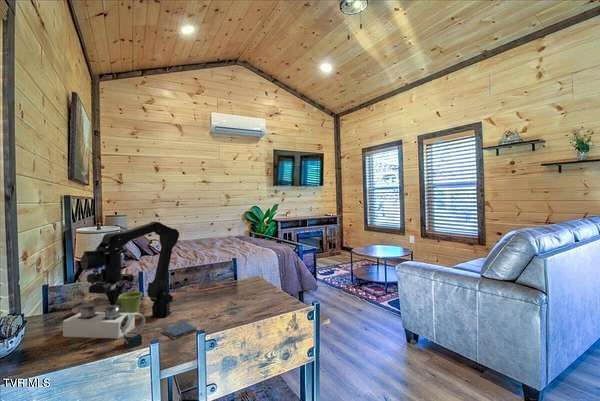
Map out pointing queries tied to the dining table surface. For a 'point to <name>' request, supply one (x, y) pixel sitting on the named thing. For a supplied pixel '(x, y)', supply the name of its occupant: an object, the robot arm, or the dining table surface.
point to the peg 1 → (88, 311)
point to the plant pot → (131, 302)
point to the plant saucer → (97, 305)
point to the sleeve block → (95, 326)
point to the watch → (135, 337)
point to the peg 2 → (112, 312)
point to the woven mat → (179, 330)
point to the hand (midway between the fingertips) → (112, 304)
